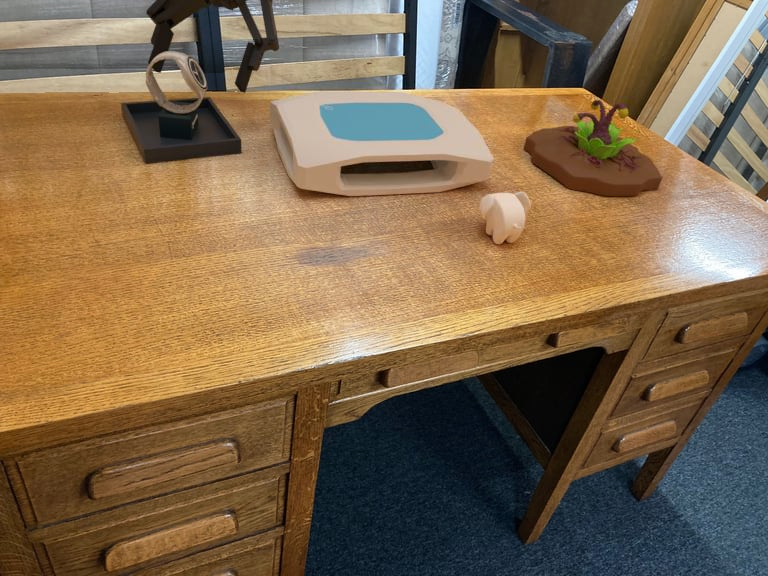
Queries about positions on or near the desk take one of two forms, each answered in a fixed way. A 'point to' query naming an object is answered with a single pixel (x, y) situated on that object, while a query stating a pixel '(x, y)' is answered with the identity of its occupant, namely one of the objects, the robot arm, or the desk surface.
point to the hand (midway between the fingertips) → (196, 78)
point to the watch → (178, 116)
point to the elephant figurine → (505, 215)
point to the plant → (593, 156)
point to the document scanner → (376, 142)
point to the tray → (207, 139)
